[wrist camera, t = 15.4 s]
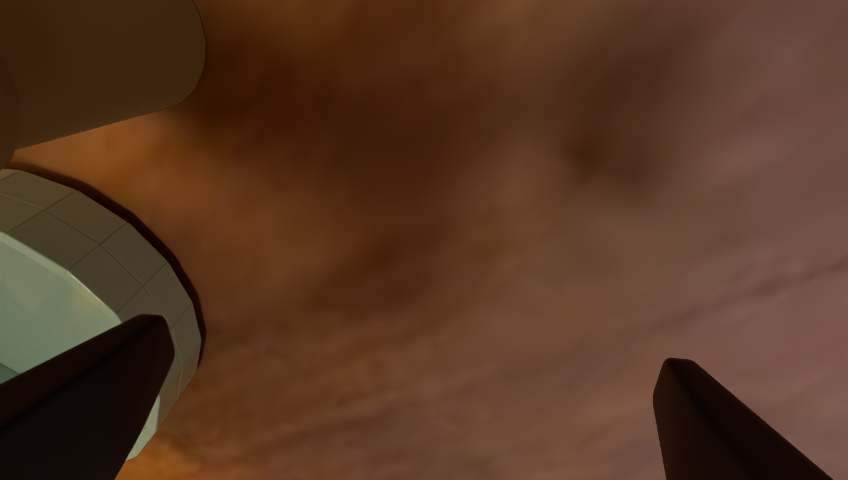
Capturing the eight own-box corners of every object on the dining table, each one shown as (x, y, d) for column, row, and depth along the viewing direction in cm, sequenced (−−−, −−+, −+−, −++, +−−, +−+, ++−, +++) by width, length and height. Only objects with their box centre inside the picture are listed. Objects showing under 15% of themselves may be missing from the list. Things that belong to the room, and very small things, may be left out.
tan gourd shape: (238, 66, 20) (5, 190, 10) (126, 135, 22) (-156, 293, 12) (125, -103, 17) (-316, -144, 8) (11, -8, 19) (-454, 50, 10)
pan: (-150, 149, 23) (-276, 192, 20) (171, 174, 22) (104, 225, 18) (-18, 389, 31) (-89, 454, 27) (227, 417, 30) (188, 489, 26)
